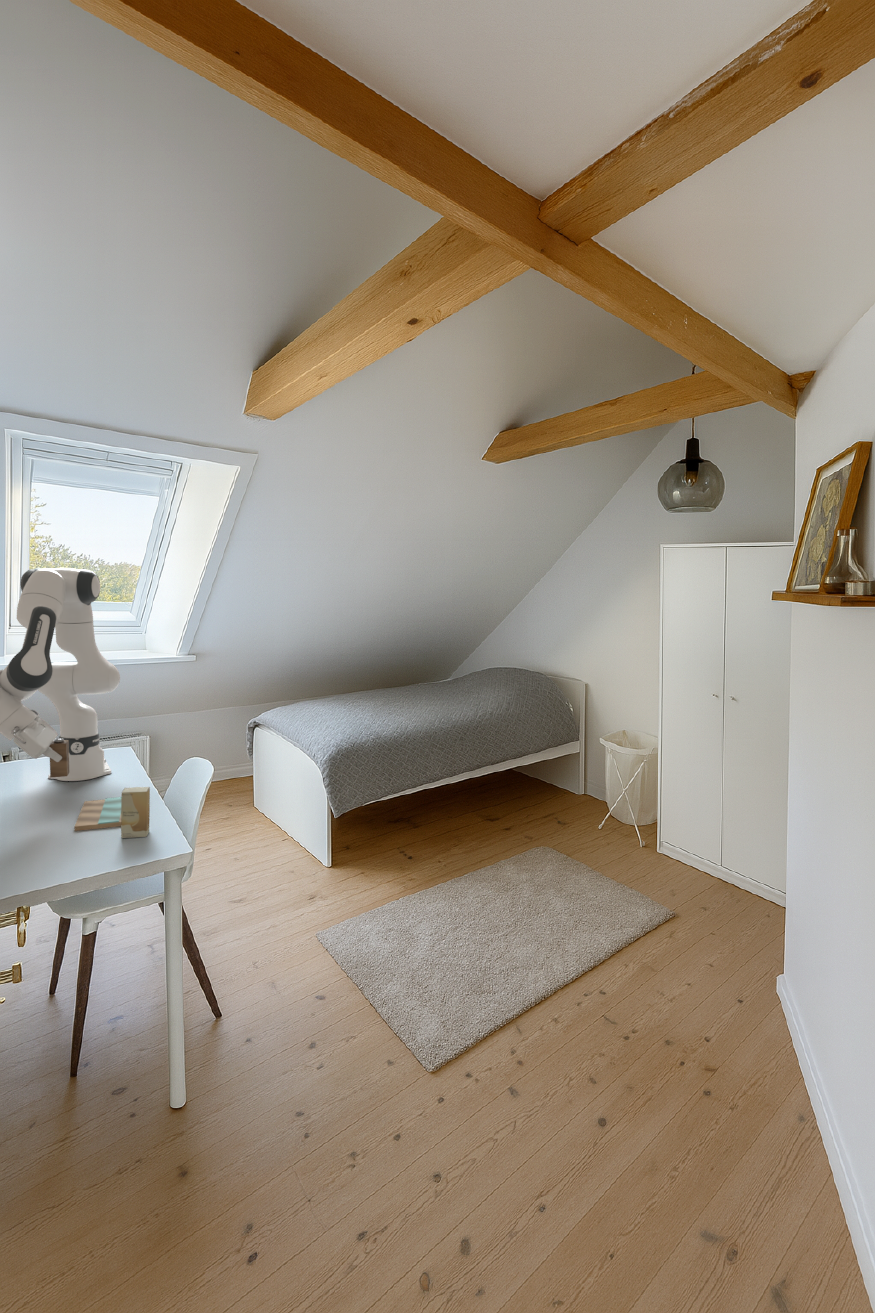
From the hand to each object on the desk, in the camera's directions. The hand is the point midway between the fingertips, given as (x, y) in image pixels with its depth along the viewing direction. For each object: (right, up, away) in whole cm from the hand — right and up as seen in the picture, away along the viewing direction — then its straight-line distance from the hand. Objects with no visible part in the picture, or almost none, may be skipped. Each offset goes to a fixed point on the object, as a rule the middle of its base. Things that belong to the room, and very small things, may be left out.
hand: (62, 757), depth 173 cm
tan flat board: (+10, -17, +5) cm, 21 cm away
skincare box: (+25, -19, -9) cm, 33 cm away
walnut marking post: (-1, -5, 0) cm, 5 cm away
